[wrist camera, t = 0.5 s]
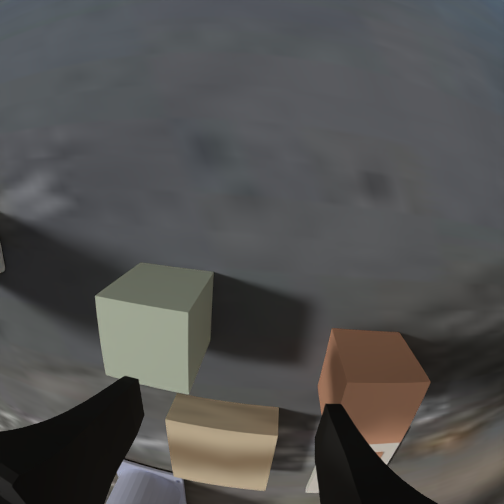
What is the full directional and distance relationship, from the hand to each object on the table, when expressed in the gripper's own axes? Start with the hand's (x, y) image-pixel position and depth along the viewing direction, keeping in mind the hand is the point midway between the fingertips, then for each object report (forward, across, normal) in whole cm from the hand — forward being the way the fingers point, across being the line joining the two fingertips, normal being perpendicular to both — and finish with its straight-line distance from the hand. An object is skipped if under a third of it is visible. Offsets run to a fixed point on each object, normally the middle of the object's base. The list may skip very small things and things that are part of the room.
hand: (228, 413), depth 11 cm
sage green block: (+10, +5, 0) cm, 11 cm away
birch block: (+10, +1, +12) cm, 16 cm away
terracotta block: (+10, -8, +3) cm, 13 cm away
